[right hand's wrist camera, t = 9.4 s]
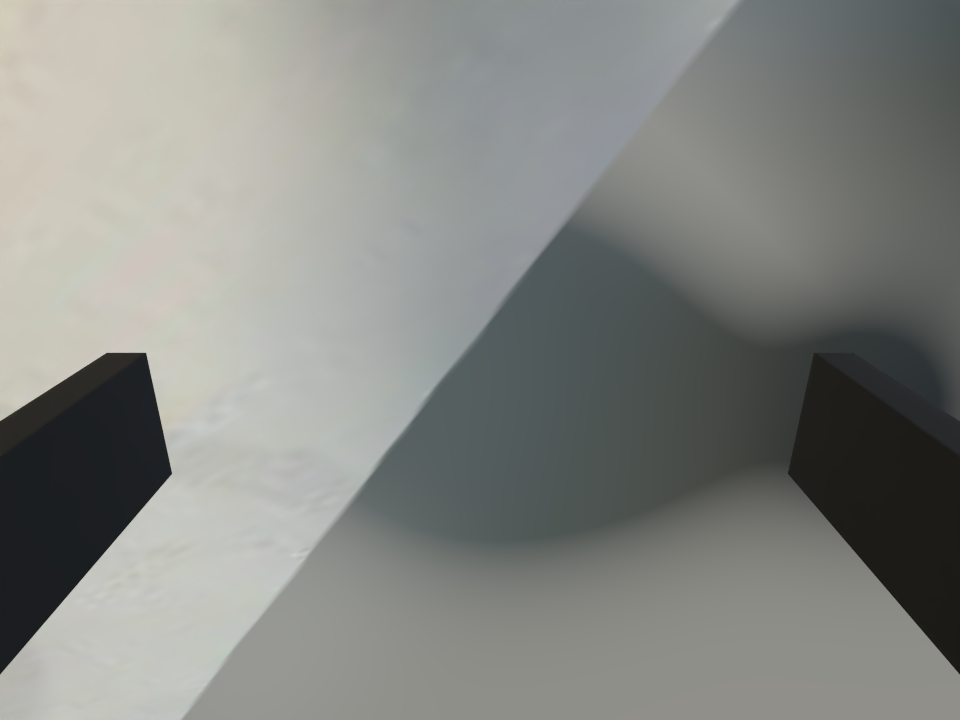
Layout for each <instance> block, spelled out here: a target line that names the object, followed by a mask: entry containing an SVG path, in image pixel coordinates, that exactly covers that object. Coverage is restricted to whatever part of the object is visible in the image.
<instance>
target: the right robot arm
mask: <svg viewBox="0 0 960 720" xmlns="http://www.w3.org/2000/svg"><path fill="white" fill-rule="evenodd" d="M171 474H172V471H171V467H170V462H169V458H168V453H167V448H166V444H165V439H164V434H163V430H162V425H161V420H160V416H159V411H158V407H157V402H156V397H155V393H154V388H153V383H152V379H151V374H150V369H149V365H148V360H147V356H146V353H106V354H105V355H103V356H101V357H100V358H98V359H97V360H95V361H94V362H92V363H90V364H89V365H87V366H86V367H84V368H83V369H81V370H80V371H78V372H76V373H75V374H73V375H72V376H70V377H69V378H67V379H66V380H64V381H62V382H61V383H59V384H58V385H56V386H55V387H53V388H51V389H50V390H48V391H47V392H45V393H44V394H42V395H41V396H39V397H37V398H36V399H34V400H33V401H31V402H30V403H28V404H26V405H25V406H23V407H22V408H20V409H19V410H17V411H16V412H14V413H12V414H11V415H9V416H8V417H6V418H5V419H3V420H2V421H0V674H1V673H2V672H3V670H4V669H5V668H6V667H7V666H8V665H9V663H10V662H11V661H12V660H13V659H14V658H15V656H16V655H17V654H18V653H19V652H20V651H21V649H22V648H23V647H24V646H25V645H26V644H27V642H28V641H29V640H30V639H31V638H32V637H33V635H34V634H35V633H36V632H37V631H38V630H39V628H40V627H41V626H42V625H43V624H44V623H45V621H46V620H47V619H48V618H49V617H50V616H51V614H52V613H53V612H54V611H55V610H56V609H57V607H58V606H59V605H60V604H61V603H62V602H63V600H64V599H65V598H66V597H67V596H68V595H69V593H70V592H71V591H72V590H73V589H74V588H75V586H76V585H77V584H78V583H79V582H80V580H81V579H82V578H83V577H84V576H85V575H86V573H87V572H88V571H89V570H90V569H91V568H92V566H93V565H94V564H95V563H96V562H97V561H98V559H99V558H100V557H101V556H102V555H103V554H104V552H105V551H106V550H107V549H108V548H109V547H110V545H111V544H112V543H113V542H114V541H115V540H116V538H117V537H118V536H119V535H120V534H121V533H122V531H123V530H124V529H125V528H126V527H127V526H128V524H129V523H130V522H131V521H132V520H133V519H134V517H135V516H136V515H137V514H138V513H139V512H140V510H141V509H142V508H143V507H144V506H145V505H146V503H147V502H148V501H149V500H150V499H151V498H152V496H153V495H154V494H155V493H156V492H157V491H158V489H159V488H160V487H161V486H162V485H163V484H164V482H165V481H166V480H167V479H168V478H169V477H170V475H171ZM788 474H789V475H790V477H791V478H792V479H793V480H794V481H795V482H796V484H797V485H798V486H799V487H800V488H801V489H802V491H803V492H804V493H805V494H806V495H807V496H808V498H809V499H810V500H811V501H812V502H813V503H814V505H815V506H816V507H817V508H818V509H819V510H820V512H821V513H822V514H823V515H824V516H825V517H826V519H827V520H828V521H829V522H830V523H831V524H832V526H833V527H834V528H835V529H836V530H837V531H838V533H839V534H840V535H841V536H842V537H843V538H844V540H845V541H846V542H847V543H848V544H849V545H850V547H851V548H852V549H853V550H854V551H855V552H856V554H857V555H858V556H859V557H860V558H861V559H862V561H863V562H864V563H865V564H866V565H867V566H868V568H869V569H870V570H871V571H872V572H873V573H874V575H875V576H876V577H877V578H878V579H879V580H880V582H881V583H882V584H883V585H884V586H885V588H886V589H887V590H888V591H889V592H890V593H891V595H892V596H893V597H894V598H895V599H896V600H897V602H898V603H899V604H900V605H901V606H902V607H903V609H904V610H905V611H906V612H907V613H908V614H909V616H910V617H911V618H912V619H913V620H914V621H915V623H916V624H917V625H918V626H919V627H920V628H921V629H922V631H923V632H924V633H925V634H926V635H927V637H928V638H929V639H930V640H931V641H932V642H933V644H934V645H935V646H936V647H937V648H938V649H939V651H940V652H941V653H942V654H943V655H944V656H945V658H946V659H947V660H948V661H949V662H950V663H951V665H952V666H953V667H954V668H955V669H956V670H957V672H958V673H959V674H960V421H958V420H957V419H955V418H954V417H952V416H951V415H949V414H948V413H946V412H944V411H943V410H941V409H940V408H938V407H937V406H935V405H933V404H932V403H930V402H929V401H927V400H926V399H924V398H923V397H921V396H919V395H918V394H916V393H915V392H913V391H912V390H910V389H909V388H907V387H905V386H904V385H902V384H901V383H899V382H898V381H896V380H894V379H893V378H891V377H890V376H888V375H887V374H885V373H883V372H882V371H880V370H879V369H877V368H876V367H874V366H873V365H871V364H870V363H868V362H866V361H865V360H863V359H862V358H860V357H859V356H857V355H855V354H854V353H814V356H813V360H812V365H811V370H810V374H809V379H808V383H807V388H806V393H805V397H804V402H803V407H802V411H801V416H800V420H799V425H798V430H797V434H796V439H795V444H794V448H793V453H792V458H791V462H790V467H789V471H788Z"/></svg>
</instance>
